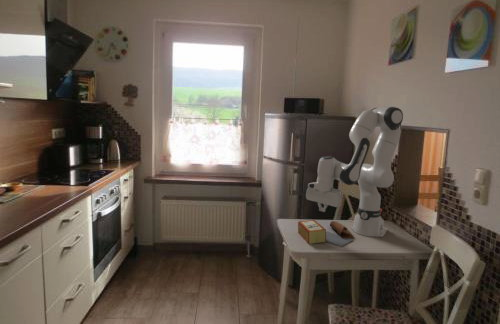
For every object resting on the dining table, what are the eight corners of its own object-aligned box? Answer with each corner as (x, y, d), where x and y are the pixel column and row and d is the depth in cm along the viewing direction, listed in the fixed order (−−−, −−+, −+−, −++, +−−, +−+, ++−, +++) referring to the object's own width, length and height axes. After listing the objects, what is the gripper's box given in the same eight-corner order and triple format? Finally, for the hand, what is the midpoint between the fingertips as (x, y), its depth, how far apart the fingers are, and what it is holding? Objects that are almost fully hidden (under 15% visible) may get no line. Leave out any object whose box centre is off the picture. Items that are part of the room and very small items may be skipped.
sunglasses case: (355, 237, 180) (350, 226, 179) (344, 243, 180) (339, 232, 179) (343, 226, 198) (338, 217, 197) (332, 232, 198) (328, 222, 197)
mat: (327, 232, 188) (327, 231, 188) (353, 240, 178) (353, 239, 178) (314, 237, 178) (314, 236, 178) (341, 247, 168) (341, 245, 168)
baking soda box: (298, 232, 185) (308, 244, 169) (298, 221, 184) (308, 232, 168) (314, 231, 187) (326, 242, 171) (314, 219, 186) (326, 230, 170)
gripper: (345, 189, 174) (342, 214, 177) (311, 182, 188) (309, 205, 190) (339, 191, 170) (336, 217, 172) (305, 183, 184) (303, 207, 186)
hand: (322, 211), depth 181 cm, fingers closed
